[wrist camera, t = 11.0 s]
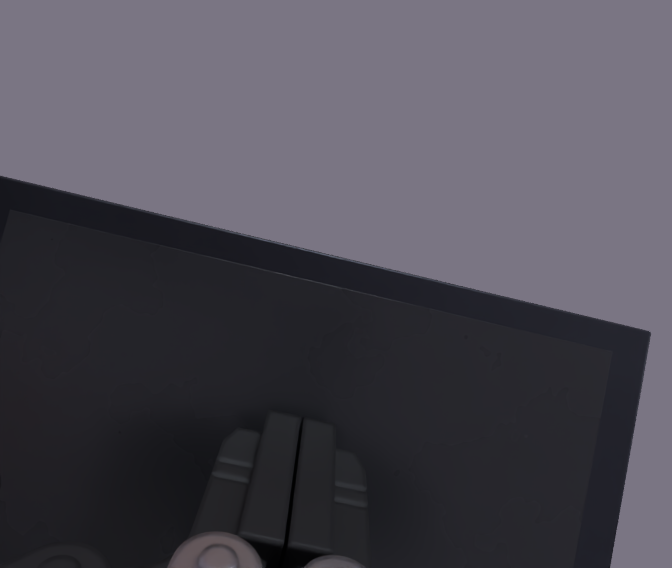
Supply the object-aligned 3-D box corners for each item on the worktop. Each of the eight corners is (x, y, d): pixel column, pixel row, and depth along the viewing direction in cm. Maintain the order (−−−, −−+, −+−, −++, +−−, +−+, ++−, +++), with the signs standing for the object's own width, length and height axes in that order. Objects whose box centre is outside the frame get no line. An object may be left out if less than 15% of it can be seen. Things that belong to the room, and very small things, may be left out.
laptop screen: (655, 331, 13) (636, 331, 13) (-26, 168, 12) (-9, 177, 12) (578, 771, 12) (562, 746, 13) (-166, 639, 11) (-138, 619, 12)
